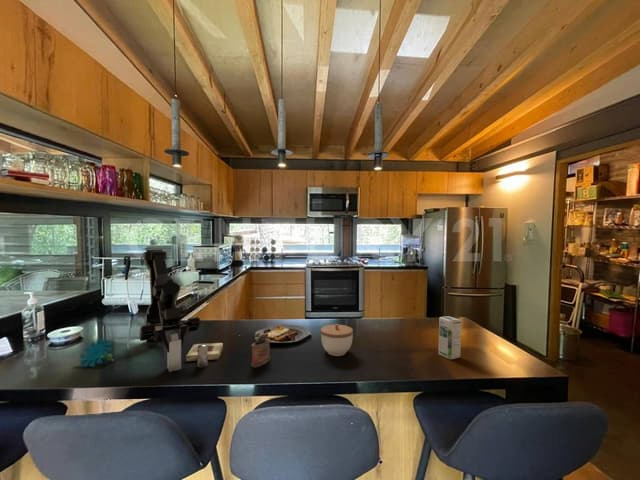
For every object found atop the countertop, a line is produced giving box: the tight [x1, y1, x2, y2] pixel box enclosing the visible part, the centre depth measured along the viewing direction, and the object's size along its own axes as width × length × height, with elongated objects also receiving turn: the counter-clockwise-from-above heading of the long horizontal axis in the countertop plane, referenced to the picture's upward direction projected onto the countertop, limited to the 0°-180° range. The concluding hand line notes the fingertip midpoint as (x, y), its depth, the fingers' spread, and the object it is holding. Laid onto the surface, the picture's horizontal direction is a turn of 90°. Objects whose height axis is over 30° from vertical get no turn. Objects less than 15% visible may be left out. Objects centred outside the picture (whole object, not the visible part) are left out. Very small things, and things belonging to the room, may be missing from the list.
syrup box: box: [438, 315, 462, 360], centre depth 112 cm, size 6×6×14 cm
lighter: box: [251, 333, 271, 368], centre depth 104 cm, size 8×3×10 cm, turn 148°
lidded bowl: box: [320, 323, 354, 357], centre depth 114 cm, size 13×13×11 cm
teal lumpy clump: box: [79, 338, 115, 368], centre depth 104 cm, size 11×6×10 cm
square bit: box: [166, 331, 182, 373], centre depth 99 cm, size 4×4×12 cm
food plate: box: [254, 324, 312, 344], centre depth 132 cm, size 25×23×4 cm
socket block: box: [185, 342, 224, 362], centre depth 112 cm, size 11×11×2 cm
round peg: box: [197, 343, 209, 368], centre depth 102 cm, size 3×3×7 cm
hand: (175, 350), depth 98 cm, fingers closed on square bit, 4 cm apart
